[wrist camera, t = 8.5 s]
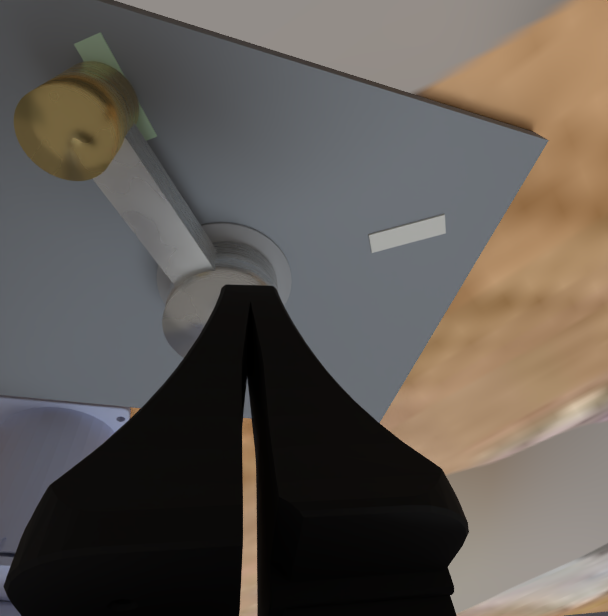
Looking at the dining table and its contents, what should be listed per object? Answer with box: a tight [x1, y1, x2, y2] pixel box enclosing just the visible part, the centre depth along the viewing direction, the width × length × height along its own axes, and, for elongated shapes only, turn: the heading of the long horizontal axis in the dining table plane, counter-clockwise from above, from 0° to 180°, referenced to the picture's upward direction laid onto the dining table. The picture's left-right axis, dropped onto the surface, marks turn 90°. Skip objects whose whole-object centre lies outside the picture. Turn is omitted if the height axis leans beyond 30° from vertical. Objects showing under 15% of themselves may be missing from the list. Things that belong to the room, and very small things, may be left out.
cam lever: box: [14, 61, 279, 358], centre depth 17 cm, size 13×5×4 cm, turn 23°
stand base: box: [0, 0, 549, 423], centre depth 22 cm, size 20×24×1 cm
